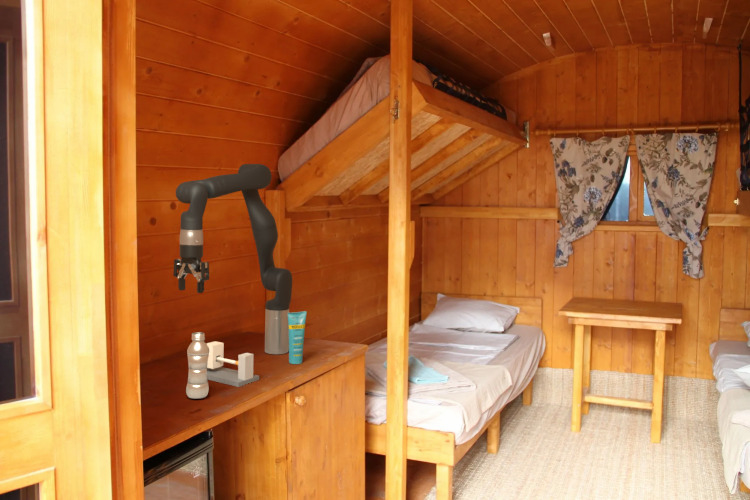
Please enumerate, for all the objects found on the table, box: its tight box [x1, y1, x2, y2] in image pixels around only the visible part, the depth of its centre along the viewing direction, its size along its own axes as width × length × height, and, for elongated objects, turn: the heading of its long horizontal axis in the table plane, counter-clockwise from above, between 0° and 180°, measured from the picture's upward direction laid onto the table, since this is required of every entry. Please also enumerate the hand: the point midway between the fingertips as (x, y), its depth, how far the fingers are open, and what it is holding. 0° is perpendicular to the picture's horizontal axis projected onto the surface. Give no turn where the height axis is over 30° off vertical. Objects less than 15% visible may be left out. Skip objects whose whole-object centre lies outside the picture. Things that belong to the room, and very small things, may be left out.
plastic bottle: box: [185, 331, 210, 400], centre depth 203 cm, size 6×7×20 cm
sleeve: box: [205, 341, 225, 369], centre depth 228 cm, size 5×4×8 cm
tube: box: [288, 310, 308, 365], centre depth 247 cm, size 7×5×19 cm, turn 123°
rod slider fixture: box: [207, 352, 260, 388], centre depth 225 cm, size 10×22×10 cm, turn 59°
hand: (191, 291), depth 222 cm, fingers open, 8 cm apart
